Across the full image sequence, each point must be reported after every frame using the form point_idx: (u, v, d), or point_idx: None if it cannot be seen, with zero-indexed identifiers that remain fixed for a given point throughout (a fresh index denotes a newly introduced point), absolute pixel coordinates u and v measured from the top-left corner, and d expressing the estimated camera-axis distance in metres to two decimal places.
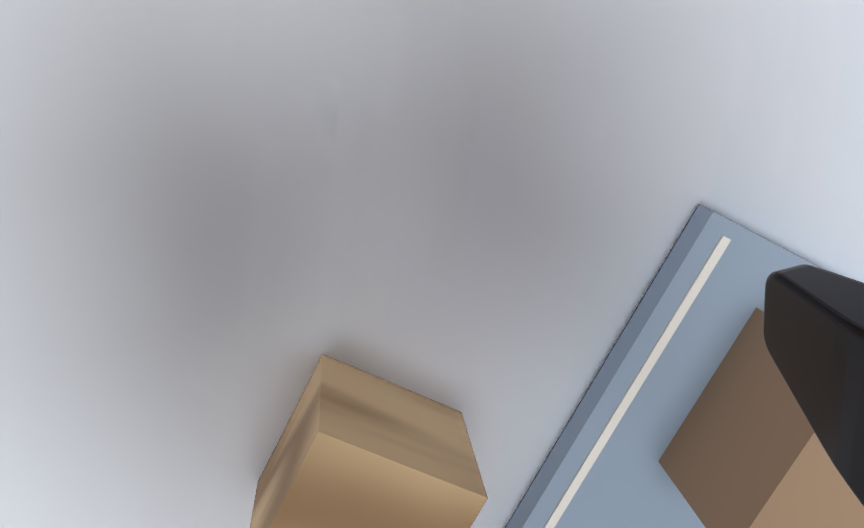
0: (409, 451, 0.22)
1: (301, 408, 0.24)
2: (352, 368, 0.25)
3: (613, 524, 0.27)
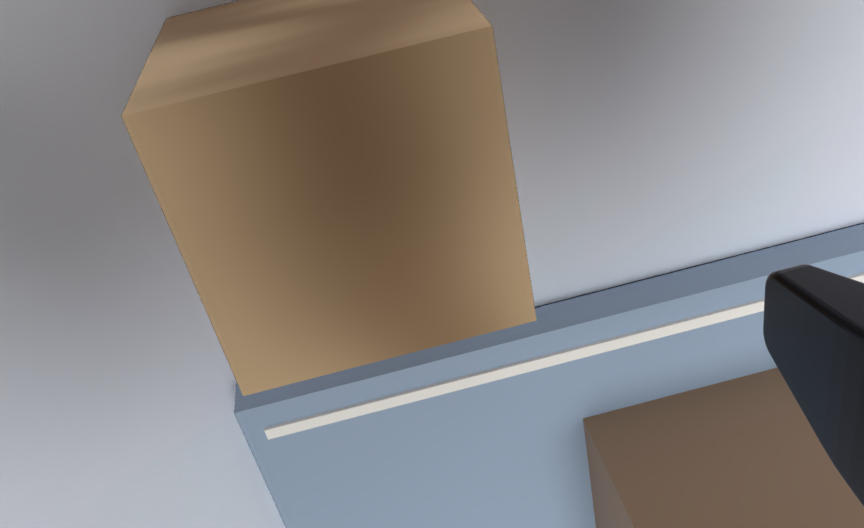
0: None
1: None
2: None
3: (477, 441, 0.20)
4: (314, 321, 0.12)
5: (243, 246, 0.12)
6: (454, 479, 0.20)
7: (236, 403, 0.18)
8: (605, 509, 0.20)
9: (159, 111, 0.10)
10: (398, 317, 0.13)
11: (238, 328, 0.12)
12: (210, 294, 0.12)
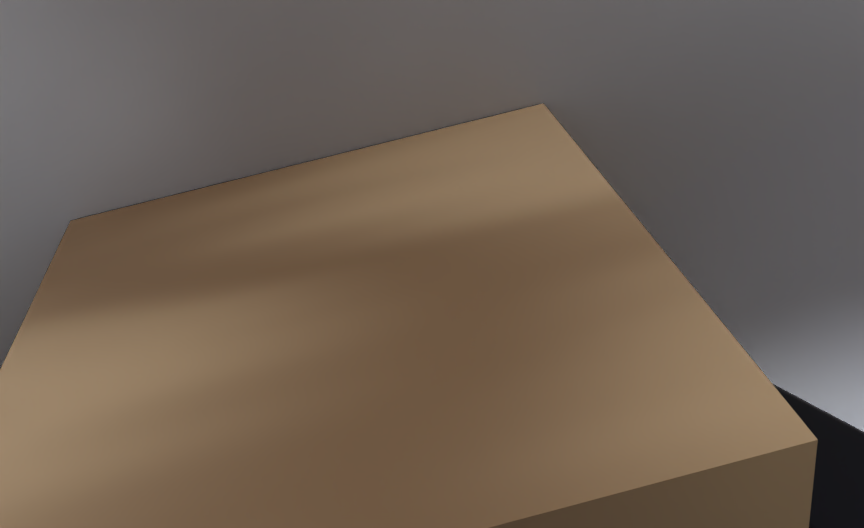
0: None
1: (427, 185, 0.07)
2: None
3: None
4: None
5: None
6: None
7: None
8: None
9: None
10: None
11: None
12: None
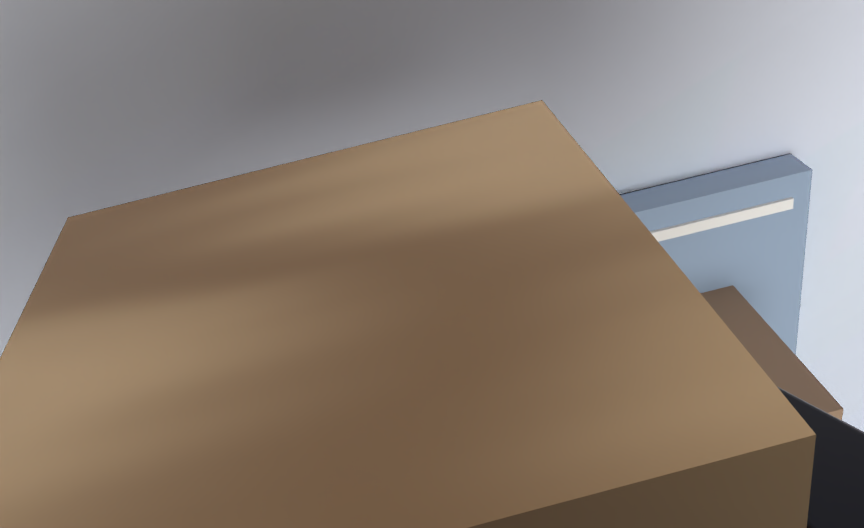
0: None
1: (425, 182, 0.07)
2: None
3: None
4: None
5: None
6: None
7: None
8: None
9: None
10: None
11: None
12: None
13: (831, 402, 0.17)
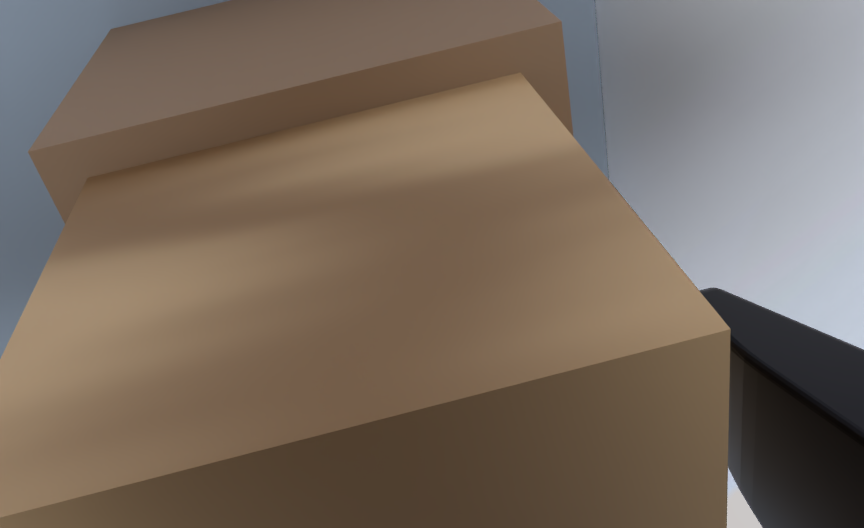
0: None
1: (412, 142, 0.08)
2: None
3: None
4: None
5: None
6: None
7: None
8: None
9: (1, 521, 0.05)
10: None
11: None
12: None
13: (545, 18, 0.09)
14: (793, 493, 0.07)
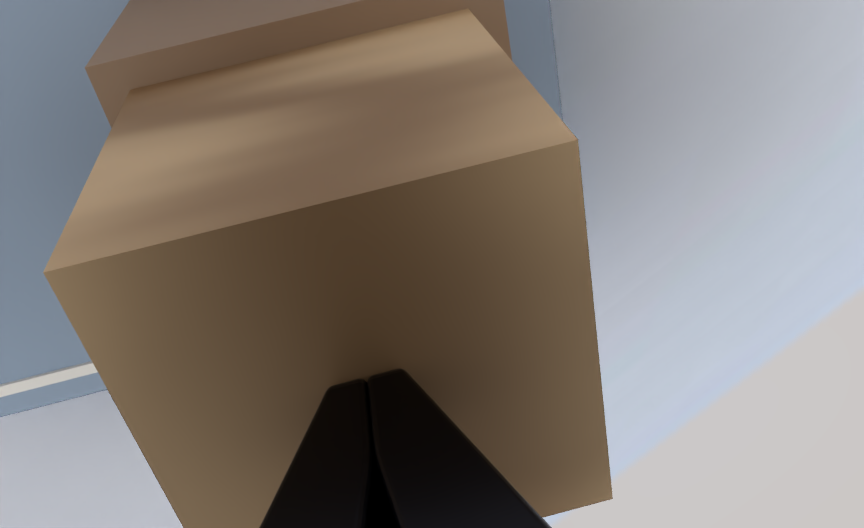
0: None
1: (381, 55, 0.10)
2: None
3: None
4: None
5: (222, 429, 0.08)
6: None
7: None
8: None
9: (99, 263, 0.07)
10: None
11: (217, 526, 0.09)
12: (178, 488, 0.09)
13: None
14: None
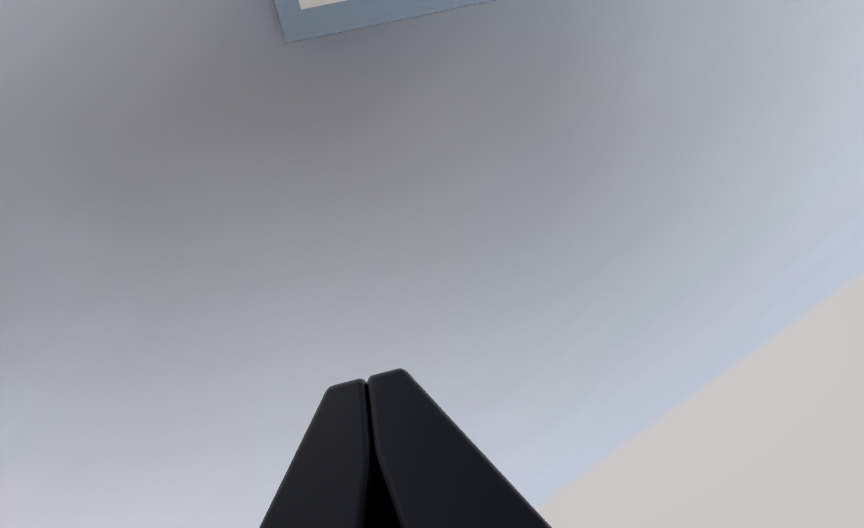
0: None
1: None
2: None
3: None
4: None
5: None
6: None
7: None
8: None
9: None
10: None
11: None
12: None
13: None
14: None
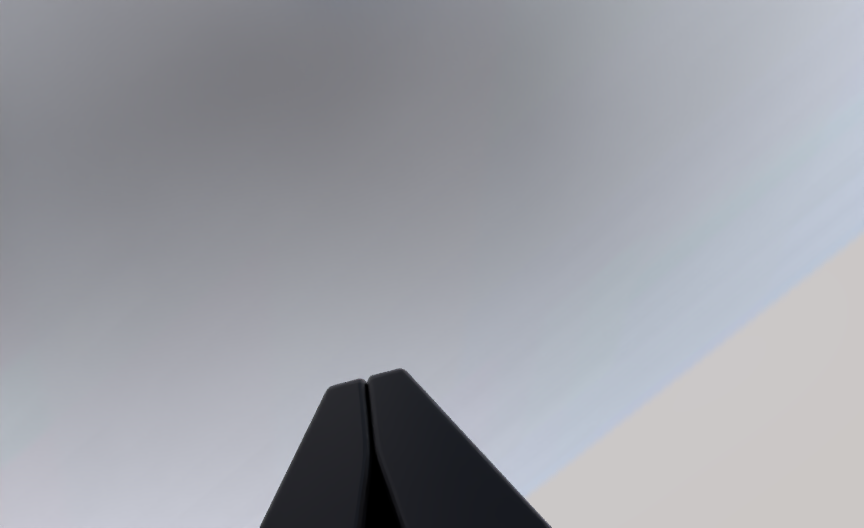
0: None
1: None
2: None
3: None
4: None
5: None
6: None
7: None
8: None
9: None
10: None
11: None
12: None
13: None
14: None
